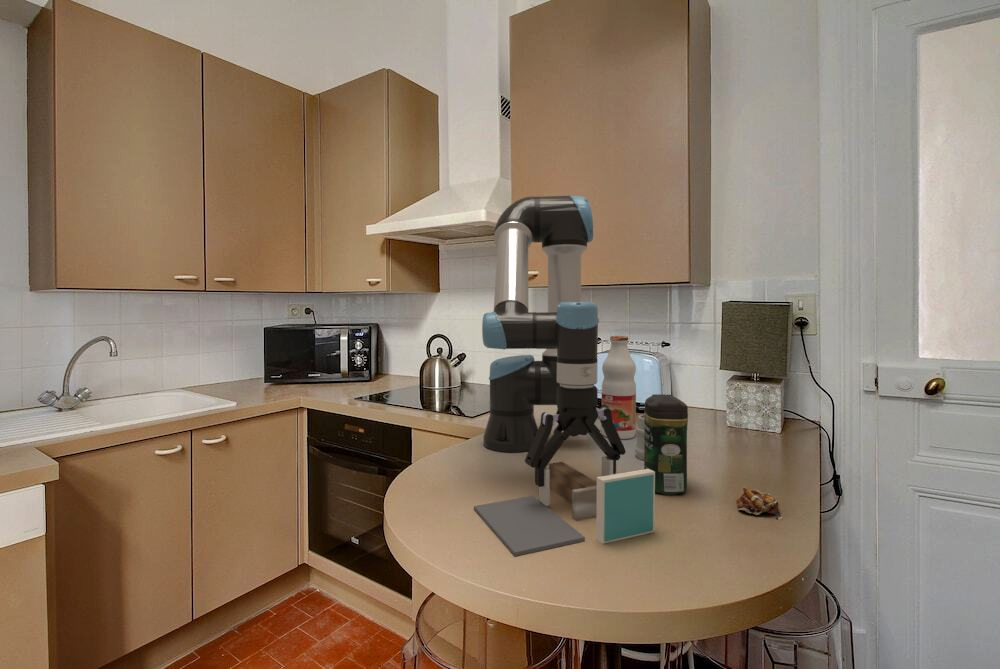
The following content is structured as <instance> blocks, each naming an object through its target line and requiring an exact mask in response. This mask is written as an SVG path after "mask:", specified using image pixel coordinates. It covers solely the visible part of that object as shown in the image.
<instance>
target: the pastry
mask: <svg viewBox="0 0 1000 669" xmlns="http://www.w3.org/2000/svg"><path fill="white" fill-rule="evenodd" d="M742 490H743V492H742V493H741V496H740V497H739V498H737V499H736V500H735V502H736V506H737V510H738V511H740V510H741V511H744V512H746V513H748V514H754V515H756V516H757V515H760V514H762V513H768V514H774V516H775V520H777V521H781V520H783V517H782V516H781V514H780V513H779V511H778V510H777V509H778V507H779V501H778V500H777V499H775V498H774V497H772V495H771V493H769V492H768V493H764V492H761V491H759V490H758V489H749V488H748V487H746V486H745V485H743V486H742ZM778 516H779V517H778Z"/></svg>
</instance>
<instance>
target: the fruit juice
mask: <svg viewBox="0 0 1000 669" xmlns="http://www.w3.org/2000/svg"><path fill="white" fill-rule="evenodd" d="M609 340H610V348H609V351H608V353H607V356H606V358H605V359H604V361H603V363H602V368H601V371H602V373H603V380H602V383H601V407H604V408H607V409H610V410H611V414H612V421H613V423H614V426H615V428H616V430H617V432H618V435H619V437H620V439H621V440H630V439H633V438H635V436H636V433H637V431H636V428H637V427H636V424H637V419H636V418H637V385H636V382H635V374H636V372H637V368H636V363H635V361H634V360H633V357H632V356H631V353H630V351H629V348H628V343H629V336H628V335H611V336H610V339H609ZM600 424H601V423H600ZM600 426H601V429H600V432H601V434H602V435H603V437H604V438H608V437H607V435H606V433H605V431H604V429H603V426H602V424H601V425H600Z"/></svg>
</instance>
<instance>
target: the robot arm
mask: <svg viewBox="0 0 1000 669" xmlns="http://www.w3.org/2000/svg"><path fill="white" fill-rule="evenodd" d="M592 212H593V211H592V208H591V204H590V201H589V200H588V199H587V198H586V197H585V196H583V195H582V196H579V195H570V194H568V195H553V196H552V195H550V196H549V195H548V196H526V197H525V196H524V197H523V198H519V199H518V200H516V201H514V202H513V203H511V204H510V205H508V207H506V208H505V210H504V211H503V212H502V213H501V215H500V216H499V218H498V220H497V222H496V224H495V228H494V231H493V232H494V233H493V241H494V244H495V246H496V247H497V248H496V250H497V251H496V252H497V253H496V265H495V267H496V268H495V285H494V299H493V300H494V302H493V311H491V312H485V313H484V314H483V316H482V321H481V325H482V327H481V328H482V329H481V330H482V331H481V334H482V336H481V337H482V343H483V345H484V347H485V348H487V349H493V350H494V349H495V350H497V349H498V350H508V349H509V350H513V349H514V350H516V349H518V350H520V349H521V350H523V349H524V350H525V349H531V350H532V349H533V350H534V349H537V350H544V351H543V352H542V354H541V359H542V360H535V357H534V355H532V354H523V355H522V354H521V355H512V356H506V357H501V358H497V359H495V360H493V361H492V362H491V363H490V365H489V366H490V367H489V377H488V380H489V417H488V420H487V424H486V426H485V430H484V433H483V446H484V447H485V448H487V449H489V450H493V451H496V452H502V453H504V452H505V453H521V452H527V455H526V457H525V459H524V463H525V464H527V465H528V466H529V467H531V468H534V483H535V485H536V486H537V487H538V500H539V501H540V502H542V503H543V504H544V505H545V506H547V507H548V506H550V505H551V504H550V500H551V498H550V495H551V494H550V492H551V491H550V490H551V489H550V470H549V467H547V466H549V464H550V463H551V460H552V459H553V458H554V456H555V455H556V453H557V452H558V450H559V449H560V448H561V446H562V445H563V444H564V442H565V441H566V440H568V439H569V438H570V437H573V438H574V437H578V436H579V435H581V436H587V435H589V436H590V438H592V440H593V441H594V442H595V443H596V445H597V446H598V447H599V449H601V451H602V452H603V453H604V455H605V456H601V476H607V475H613V474H617V461H619V460H620V459H621V455H622V456H624V455H625V454H626V449H625V447H624V444H623V442H622V439H620V437H619V435H618V432H617V430H616V428H615V426H614V423H613V421H612V414H611V410H610V409H607V408H604V407H602V406H600V407H598V409H597V406H598V395H599V394H598V393H599V392H598V390H599V389H598V387H597V386H596V384H598V341H599V340H598V338H599V337H598V333H599V331H598V330H599V329H598V328H599V323H600V319H599V313H598V312H599V311H598V305H597V303H595V302H594V301H582V255H583V254H584V252H585V251H586V250H587V249H588V243H591V242H593V239H594V218H593V213H592ZM532 243H541V250H542V251H543V252H544V253H545V255H547V311H545V312H540V311H539V312H535V311H534V312H533V311H532V312H529V247H531V244H532ZM535 406H556V407H557V410H556V413H548V412H545V411H544V412H542V413H541V415H540V424H539V426H538V424H537V421H536V418H535ZM597 419H598V420H599V422H600V424H602V426H603V429H604V431H605V433H606V435H607V437H605V436H603V435H602V432H601V429H599V428H598V426H597V425H596V424H595V423H596V421H597ZM556 423H557V425H556ZM555 425H556V427H555V428H554V430H552V429H553V426H555ZM552 431H553V434H552V435H551V432H552ZM550 435H551V437H550ZM549 437H550V438H549ZM606 438H607V439H606Z"/></svg>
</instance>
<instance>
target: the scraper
mask: <svg viewBox="0 0 1000 669" xmlns="http://www.w3.org/2000/svg"><path fill="white" fill-rule="evenodd" d="M548 469H549V470H550V490H552V491H553V492H555V493H556V494H558V495H559V496H560V497H562V498H563V499H564V500H565V501H567V502H568V503H569V504H571V519H573V520H575V522H577V521H581V520H587V519H591V518H596V514H597V480H596V481H595V480H594V479H592V478H590V476H587V475H585V474H583V473H582V472H580V471H579V470H577V469H575V468H573V467H571V466H570V465H569V464H567V463H565V462H564V461H557V462H552V463H551V462H549V463H548Z"/></svg>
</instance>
